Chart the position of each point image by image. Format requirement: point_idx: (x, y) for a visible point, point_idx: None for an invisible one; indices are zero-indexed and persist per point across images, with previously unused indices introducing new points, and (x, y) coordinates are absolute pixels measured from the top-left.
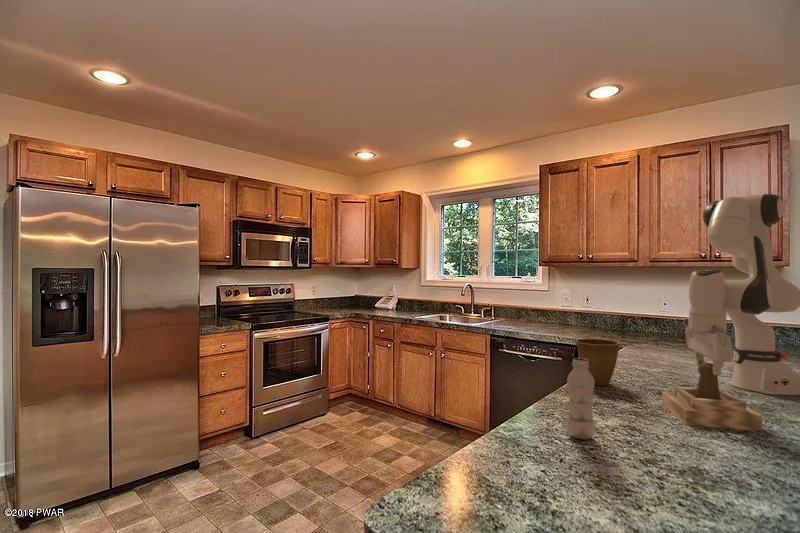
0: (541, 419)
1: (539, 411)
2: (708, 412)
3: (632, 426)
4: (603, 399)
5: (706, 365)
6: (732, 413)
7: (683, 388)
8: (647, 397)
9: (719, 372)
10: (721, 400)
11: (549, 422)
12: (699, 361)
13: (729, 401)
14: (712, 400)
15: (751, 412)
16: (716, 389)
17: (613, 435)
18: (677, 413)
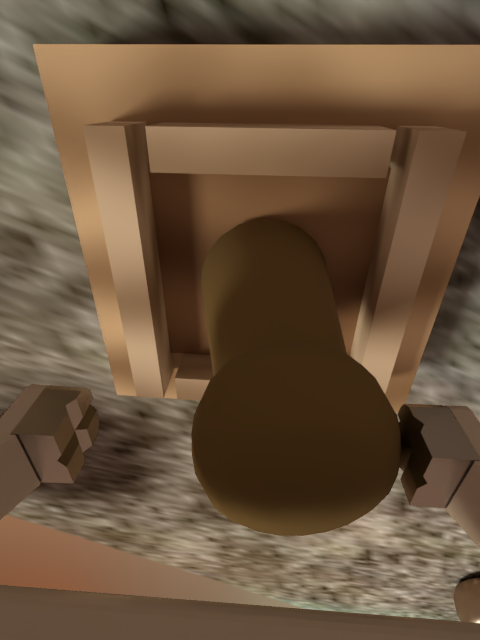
0: (363, 604)
1: (309, 599)
2: (426, 338)
3: (405, 496)
4: (156, 491)
5: (339, 522)
6: (458, 234)
7: (159, 368)
8: (57, 373)
9: (475, 435)
10: (398, 281)
11: (382, 599)
12: (73, 476)
13: (422, 241)
14: (399, 331)
15: (445, 87)
16: (333, 302)
17: (470, 540)
18: None
